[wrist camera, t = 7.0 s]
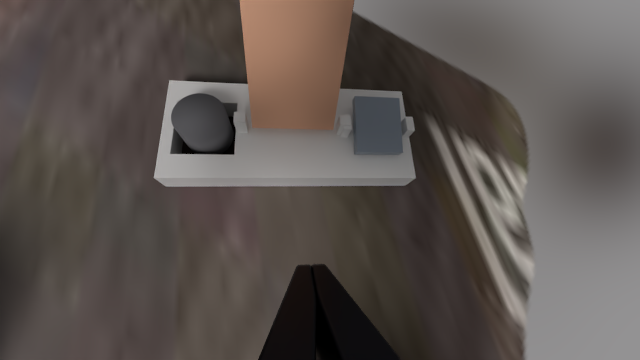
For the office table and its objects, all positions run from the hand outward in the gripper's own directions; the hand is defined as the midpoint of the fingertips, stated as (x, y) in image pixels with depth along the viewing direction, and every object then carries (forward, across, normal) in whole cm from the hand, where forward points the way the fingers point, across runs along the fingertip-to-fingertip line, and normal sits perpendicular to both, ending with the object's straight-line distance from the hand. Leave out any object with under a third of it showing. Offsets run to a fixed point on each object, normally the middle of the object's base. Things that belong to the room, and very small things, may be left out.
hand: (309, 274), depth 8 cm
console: (+16, 0, +1) cm, 16 cm away
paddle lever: (+14, 0, -1) cm, 14 cm away
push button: (+16, +6, +1) cm, 17 cm away
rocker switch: (+14, -6, -1) cm, 15 cm away
